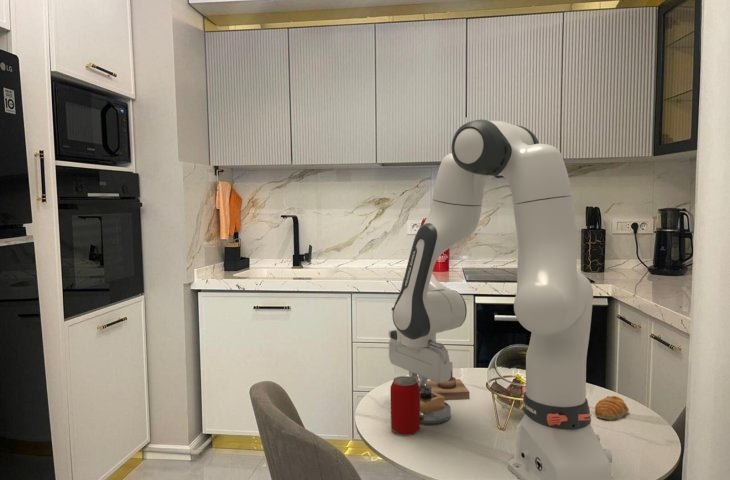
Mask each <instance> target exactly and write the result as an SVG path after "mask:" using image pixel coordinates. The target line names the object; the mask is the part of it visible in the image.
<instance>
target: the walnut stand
mask: <svg viewBox="0 0 730 480" xmlns="http://www.w3.org/2000/svg"><path fill="white" fill-rule="evenodd" d="M450 370H451V378H450V379H449V381H447V382H444V383H436V382H434V381H432V380H429V379H428V380H427V382H426V383H425V386H430V387H431V391H433V392H435V393H437V394H440V395H442V396H444V397H445V401H452V400H453V401H455V400H470V391H469V389H468V388H467V387H466V385H465V384H464V383H463V382H462V380H461V379H459V378H457V379H456V378H455V377H454V376H453V375H454V374H453V371H454V370H453V362H452V361H450Z"/></svg>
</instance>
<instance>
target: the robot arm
mask: <svg viewBox="0 0 730 480" xmlns="http://www.w3.org/2000/svg"><path fill="white" fill-rule="evenodd" d="M452 137H453V138H452V141H451V152H450V153H448V154H447V155H445V156H444V157H443V158H442V160H441V162H440V164H439V168H438V171H437V174H436V177H435V182H434V187H433V194H432V199H431V200H432V201H431V205H430V210H429V212H428V215H427V217H426V219H425V221H424V223H423V224H422V225H421V227H419V229H418V230H417V232H416V234H415V237H414V239H413V242H412V245H411V249H410V253H409V258H408V261H407V265H406V267H405V268H406V269H405V273H404V277H403V279H402V283H401V287H400V291H399V294H398V296H397V298H396V300H395V303H394V304H393V309H392V321H393V324H394V327H395V328H393V329H389V330H388V338H389V341H388V358H389V362H390V363H391V364H392V365H394V366H397V367H398V368H400V369H404V370H406V371H408V376H409V377H413V378H415V379H416V381H417V383H418V385H419V387H420V392H421V387H422V386H426V382H427V380H432V381H434V382H436V383H444V382H447V381H449V379H450V378H451V370H450V362H451V361H450V357H449V352H448V351H449V350H448V349H447V348H446V347H445V344H443V343H441V342H437V334H438V333H443V332H445V331H451V330H455V329H457V328H460V327H461V326H462V325H463V324H464V323H465V321H466V318H467V312H468V310H467V304H466V301H465V299H464V297H463V296H462V294H460V293H459V292H458V291H457V290H454V289H450V288H448V287H447V286H446V285H443V283H441V282H439V280H437V278H436V277H435V275H434V273H433V272H434V268H435V266H436V265H435V264H436V263H437V260H438V259H439V258H440V257H441V256H442V254H443V253H444V252H446V251H447V250H449V249H450V248H452V247H454V246H455V245H458V244H459V243H461V242H463V241H465V240H466V239H468V238H469V237H471V236H472V234H473V233H474V232H476V230H477V228H478V225H479V221H480V219H481V213H482V207H483V199H484V198H483V196H484V192H485V187H486V184H487V183H488V181H489V180H490V179H492V178H494V177H495V178H496V179H501V178H505V179H506V180H507V182H508V184H509V188H510V191H511V198H512V199H511V200H512V205H513V206H512V208H513V215H514V216H513V217H514V222H515V229H516V230H515V231H516V236H517V237H516V238H517V252H518V253H517V268H516V269H517V270H516V271H517V272H516V273H517V274H516V293H515V298H514V301H513V312H514V314H515V317H516V319H517V321H518V322H519V324H520V325H521V326H522V327H523V328H524V329H525V330H527V331H529V332H531V333H530V337H529V339H530V340H529V344H528V347H527V351H526V354H525V391H524V392H523V399H522V407H523V408H522V411H523V413H524V414H523V416H522V418H521V420H520V421H519V423H518V424H517V425H516V429H515V430H516V431H515V442H514V456H513V457H512V458H511V459H509V460H508V461H507V468H508V469H509V470H510V471H511V472H512V473H513V474H514V475H515V476H516V477H517V478H519V480H615V478H614V477H613V475H612V468H611V464H612V462H613V454H612V451H611V450H610V449H604V448H603V446H602V445H601V442H600V441H601V439H600V438H601V437H600V436H599V434H596V432H595V430H594V427H593V426H592V424H591V422H592V418H591V416H592V414H591V410H590V409H591V408H590V406H589V400H588V398H587V396H586V394H587V393H586V390H587V386H586V385H587V384H586V383H587V357H588V350H589V349H588V348H589V343H590V342H589V341H590V333H591V324H592V316H593V315H592V313H593V302H594V301H593V300H594V289H593V285H592V284H591V282H590V280H589V278H587V276H585V274H583V273H582V272H580V271H578V270H577V268H578V267H577V262H578V261H577V260H578V259H577V258H578V257H577V251H578V239H579V233H578V228H577V221H576V219H577V218H576V214H575V205H574V200H573V191H572V187H571V181H570V177H569V173H568V169H567V167H566V164H565V163H566V162H565V161H564V159H563V155H562V154H561V153H562V152H561V151H560V150H559V149H558V148H557V147H555V146H553V145H551V144H547V143H540V142H539V139H538V138H537V136H536V134H535V133H533V132H532V131H531V130H530V129H528V128H526V127H524V126H522V125H516V124H513V123H509V122H507V121H503V120H488V119H475V120H471V121H468V122H466V123H465V124H463V125H461V126H459V128H458V129H457V130H456V132H455V134H454V135H453V136H452Z"/></svg>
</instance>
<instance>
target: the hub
mask: <svg viewBox="0 0 730 480" xmlns="http://www.w3.org/2000/svg"><path fill="white" fill-rule="evenodd" d="M433 397H435V396H434V395H432V394H431V387H430V386H426V385H425V386H422V387H421V394H420V398H422V399H424V400H427V399H430V398H433ZM451 407H452V406H450V404H448V402H446V401H445V408H444V409H441V410H438V411H435V412H432V413H429V414H426V415H424V414H422V413H420V426H438V425H442V424H445V423H447V422H448V421H450V420H451V418H452V417H451V415H452V414H451V413H452V410H451Z"/></svg>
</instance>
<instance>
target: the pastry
mask: <svg viewBox="0 0 730 480" xmlns="http://www.w3.org/2000/svg"><path fill="white" fill-rule="evenodd" d="M594 409H595V410H594V415H595V417H596V418H600V419H604V420H607V421H613V420H619V419H622V418H623V417H625V416H626V415H627V414H628V412H629V411H630V410H629V407H628V406H627V404H626V403H625V400H624V399H623V398H622V397H620V396H616V395H611V396H609V395H607V396H606V397H604V398H602V399H600V400H599V401H598V402H597V403H596V404H595V407H594Z"/></svg>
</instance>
